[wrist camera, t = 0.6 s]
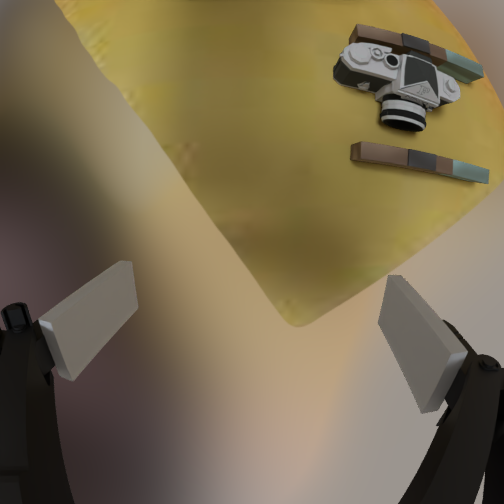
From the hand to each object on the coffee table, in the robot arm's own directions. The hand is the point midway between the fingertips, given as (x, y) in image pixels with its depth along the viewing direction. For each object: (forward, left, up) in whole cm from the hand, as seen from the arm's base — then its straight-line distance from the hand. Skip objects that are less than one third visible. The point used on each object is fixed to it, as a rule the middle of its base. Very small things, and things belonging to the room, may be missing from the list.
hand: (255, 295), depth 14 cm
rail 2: (-9, +20, -24) cm, 33 cm away
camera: (-18, +15, -24) cm, 34 cm away
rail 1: (-25, +20, -24) cm, 40 cm away
